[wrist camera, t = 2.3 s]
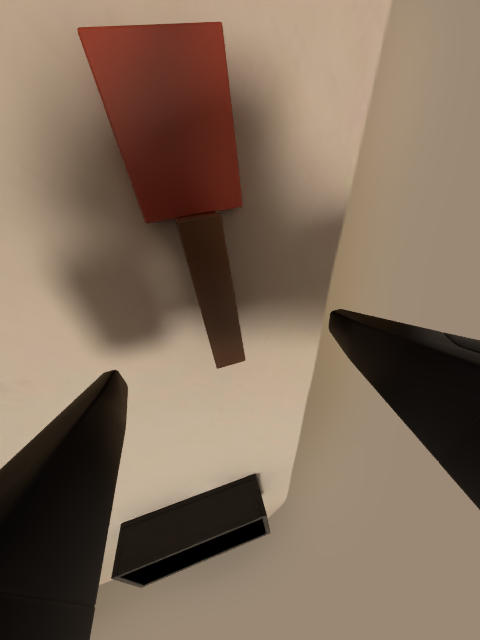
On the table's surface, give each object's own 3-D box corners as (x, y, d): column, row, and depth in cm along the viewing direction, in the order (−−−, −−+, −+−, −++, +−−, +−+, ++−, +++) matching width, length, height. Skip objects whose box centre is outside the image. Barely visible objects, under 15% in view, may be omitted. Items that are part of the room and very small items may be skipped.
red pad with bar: (218, 34, 8) (232, -23, 6) (255, 334, 16) (266, 354, 14) (84, 41, 7) (46, -22, 5) (192, 351, 15) (194, 375, 13)
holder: (255, 473, 29) (266, 515, 25) (260, 495, 33) (270, 533, 29) (120, 524, 26) (110, 578, 22) (145, 540, 30) (140, 588, 27)
